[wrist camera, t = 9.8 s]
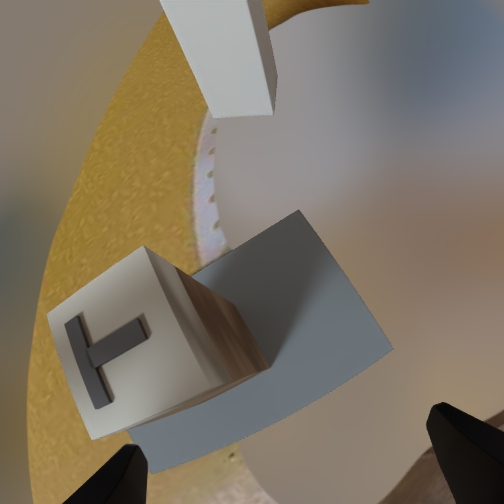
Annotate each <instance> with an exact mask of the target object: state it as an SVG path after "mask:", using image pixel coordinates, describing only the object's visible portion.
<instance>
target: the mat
mask: <svg viewBox="0 0 504 504" xmlns="http://www.w3.org/2000/svg"><path fill="white" fill-rule="evenodd" d="M191 277H192V278H193V279H195V280H197V281H198V282H200V283H201V284H203V285H204V286H206V287H207V288H209V289H211V290H212V291H214V292H215V293H217V294H218V295H220V296H222V297H223V298H225V299H226V300H228V301H229V302H231V303H233V304H234V305H235V306H236V308H237V310H238V312H239V313H240V315H241V317H242V319H243V321H244V322H245V324H246V326H247V328H248V329H249V331H250V333H251V335H252V336H253V338H254V340H255V342H256V343H257V345H258V347H259V349H260V350H261V352H262V354H263V355H264V357H265V359H266V361H267V362H268V364H269V366H270V367H271V368H270V369H268V370H266V371H264V372H262V373H261V374H259V375H257V376H255V377H253V378H251V379H249V380H248V381H246V382H244V383H242V384H240V385H238V386H236V387H234V388H232V389H230V390H228V391H226V392H225V393H223V394H221V395H219V396H217V397H215V398H213V399H210V400H208V401H206V402H204V403H201V404H199V405H196V406H194V407H191V408H188V409H186V410H183V411H181V412H178V413H175V414H173V415H170V416H167V417H164V418H162V419H159V420H156V421H153V422H150V423H147V424H144V425H141V426H138V427H135V428H132V429H129V430H127V431H128V433H129V435H130V437H131V439H132V441H133V443H134V444H137V445H139V446H140V448H141V450H142V451H143V453H144V455H145V457H146V459H147V461H148V469H149V471H150V472H151V474H154V473H157V472H160V471H163V470H166V469H169V468H172V467H175V466H178V465H180V464H183V463H186V462H188V461H191V460H194V459H196V458H199V457H201V456H204V455H206V454H209V453H211V452H214V451H216V450H218V449H221V448H223V447H225V446H228V445H230V444H232V443H234V442H237V441H239V440H241V439H243V438H245V437H248V436H250V435H252V434H254V433H256V432H258V431H260V430H262V429H264V428H266V427H268V426H270V425H272V424H274V423H276V422H278V421H280V420H282V419H283V418H285V417H287V416H289V415H291V414H293V413H294V412H296V411H298V410H300V409H302V408H304V407H305V406H307V405H309V404H311V403H312V402H314V401H316V400H317V399H319V398H321V397H323V396H324V395H326V394H328V393H329V392H331V391H332V390H334V389H336V388H337V387H339V386H341V385H342V384H344V383H345V382H347V381H348V380H350V379H351V378H353V377H354V376H356V375H357V374H359V373H361V372H362V371H363V370H365V369H366V368H368V367H369V366H371V365H372V364H374V363H375V362H377V361H378V360H379V359H381V358H382V357H383V356H385V355H386V354H388V353H389V352H390V351H392V350H393V349H394V348H393V347H392V345H391V344H390V342H389V340H388V339H387V337H386V336H385V334H384V332H383V331H382V329H381V328H380V326H379V325H378V323H377V321H376V320H375V318H374V317H373V315H372V314H371V312H370V311H369V309H368V308H367V306H366V305H365V303H364V302H363V300H362V299H361V297H360V296H359V294H358V293H357V291H356V290H355V288H354V287H353V285H352V284H351V282H350V281H349V279H348V278H347V276H346V275H345V273H344V272H343V270H342V269H341V268H340V266H339V265H338V263H337V262H336V260H335V259H334V257H333V256H332V255H331V253H330V252H329V250H328V249H327V248H326V246H325V245H324V243H323V242H322V241H321V239H320V238H319V236H318V235H317V234H316V232H315V231H314V230H313V228H312V227H311V225H310V224H309V223H308V221H307V220H306V219H305V217H304V216H303V214H302V213H301V212H300V210H297V211H296V212H294V213H292V214H291V215H289V216H287V217H286V218H284V219H283V220H281V221H279V222H278V223H276V224H275V225H273V226H271V227H270V228H268V229H266V230H265V231H263V232H261V233H260V234H258V235H257V236H255V237H253V238H252V239H250V240H249V241H247V242H245V243H244V244H242V245H240V246H239V247H238V248H236V249H234V250H232V251H231V252H229V253H228V254H226V255H224V256H223V257H221V258H220V259H218V260H216V261H215V262H213V263H212V264H210V265H208V266H207V267H205V268H204V269H202V270H200V271H199V272H197V273H196V274H194V275H193V276H191Z"/></svg>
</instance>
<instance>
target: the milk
mask: <svg viewBox="0 0 504 504" xmlns="http://www.w3.org/2000/svg"><path fill="white" fill-rule="evenodd" d="M159 1H160V3H161V5H162V7H163V9H164V11H165V13H166V15H167V18H168V20H169V22H170V24H171V26H172V28H173V30H174V32H175V35H176V37H177V39H178V41H179V43H180V45H181V48H182V50H183V52H184V54H185V56H186V58H187V61H188V63H189V65H190V67H191V69H192V71H193V74H194V76H195V78H196V80H197V82H198V85H199V87H200V89H201V91H202V94H203V96H204V98H205V100H206V102H207V105H208V107H209V109H210V111H211V114H212V116H213V118H227V117H243V116H264V115H274V108H275V97H276V86H277V71H276V66H275V61H274V56H273V51H272V46H271V41H270V36H269V31H268V26H267V22H266V17H265V12H264V8H263V3H262V0H159Z"/></svg>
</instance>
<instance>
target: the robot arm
mask: <svg viewBox="0 0 504 504" xmlns="http://www.w3.org/2000/svg"><path fill="white" fill-rule="evenodd" d="M426 426H427V431H428V433H429V436H430V439H431V442H432V445H433V448H434V451H435V454H436V457H437V460H438V463H439V466H440V468H441V470H442V472H443V474H444V477H445V479H446V481H447V483H448V485H449V488H450V490H451V492H452V494H453V497H454V499H455V501H456V504H504V432H503V431H501V430H499V429H497V428H495V427H493V426H491V425H489V424H487V423H485V422H483V421H481V420H479V419H477V418H475V417H473V416H471V415H469V414H467V413H465V412H463V411H461V410H459V409H457V408H455V407H453V406H451V405H450V404H448V403H445V402H441V403H438V404H436V405H433V407H432V408H431V411H430V414H429V417H428V420H427V423H426ZM147 475H148V461H147V459H146V457H145V455H144V453H143V451H142V450H141V448H140V446H139V445H137V444H125V445H124V446H123V447H122V448H121V449H120V450H119V451H117V452H116V453H115V454H114V455H113V456H112V457H111V458H110V459H109V460H108V461H107V462H106V463H105V464H104V465H103V466H102V467H101V468H100V469H99V470H98V471H97V472H96V473H95V474H94V475H93V476H91V477H90V478H89V479H88V480H87V481H86V482H85V483H84V484H83V485H82V486H81V487H80V488H79V489H78V490H77V491H75V492H74V493H73V494H72V495H71V496H70V497H69V498H68V499H67V500H66V501H65V502H63V503H62V504H146V492H147Z"/></svg>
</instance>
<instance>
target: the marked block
mask: <svg viewBox="0 0 504 504" xmlns="http://www.w3.org/2000/svg"><path fill="white" fill-rule="evenodd" d="M47 317H48V321H49V325H50V329H51V332H52V336H53V339H54V343H55V346H56V349H57V352H58V356H59V359H60V362H61V365H62V368H63V371H64V374H65V376H66V379H67V382H68V385H69V387H70V390H71V393H72V395H73V398H74V400H75V403H76V405H77V408H78V410H79V412H80V415H81V417H82V419H83V422H84V424H85V426H86V428H87V430H88V433H89V435H90V437H91V439H92V440H95V439H99V438H102V437H106V436H109V435H113V434H116V433H119V432H123V431H126V430H129V429H132V428H135V427H138V426H141V425H144V424H147V423H150V422H153V421H156V420H159V419H162V418H164V417H167V416H170V415H173V414H175V413H178V412H181V411H183V410H186V409H188V408H191V407H194V406H196V405H199V404H201V403H204V402H206V401H208V400H210V399H213V398H215V397H217V396H219V395H221V394H223V393H225V392H226V391H228V390H230V389H232V388H234V387H236V386H238V385H240V384H242V383H244V382H246V381H248V380H249V379H251V378H253V377H255V376H257V375H259V374H261V373H262V372H264V371H266V370H268V369H270V368H271V367H270V366H269V364H268V362H267V361H266V359H265V357H264V355H263V354H262V352H261V350H260V349H259V347H258V345H257V343H256V342H255V340H254V338H253V336H252V335H251V333H250V331H249V329H248V328H247V326H246V324H245V322H244V321H243V319H242V317H241V315H240V313H239V312H238V310H237V308H236V306H235V305H234V304H233V303H231V302H229V301H228V300H226V299H225V298H223V297H222V296H220V295H218V294H217V293H215V292H214V291H212V290H211V289H209V288H207V287H206V286H204V285H203V284H201V283H200V282H198V281H197V280H195V279H193V278H192V277H190V276H189V275H187V274H186V273H184V272H183V271H181V270H180V269H178V268H177V267H175V266H174V265H172V264H171V263H169V262H168V261H166V260H165V259H163V258H162V257H160V256H159V255H157V254H156V253H154V252H153V251H151V250H150V249H148V248H147V247H146V246H144V245H143V246H141V247H140V248H138V249H137V250H135V251H134V252H132V253H131V254H129V255H128V256H126V257H125V258H124V259H122V260H121V261H119V262H118V263H116V264H115V265H113V266H112V267H111V268H109V269H108V270H106V271H105V272H103V273H102V274H101V275H99V276H98V277H96V278H95V279H94V280H92V281H91V282H89V283H88V284H87V285H85V286H84V287H83V288H81V289H80V290H78V291H77V292H76V293H74V294H73V295H72V296H70V297H69V298H68V299H66V300H65V301H64V302H62V303H61V304H60V305H58V306H57V307H56V308H54V309H53V310H52V311H50V312H49V313H48V314H47Z"/></svg>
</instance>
